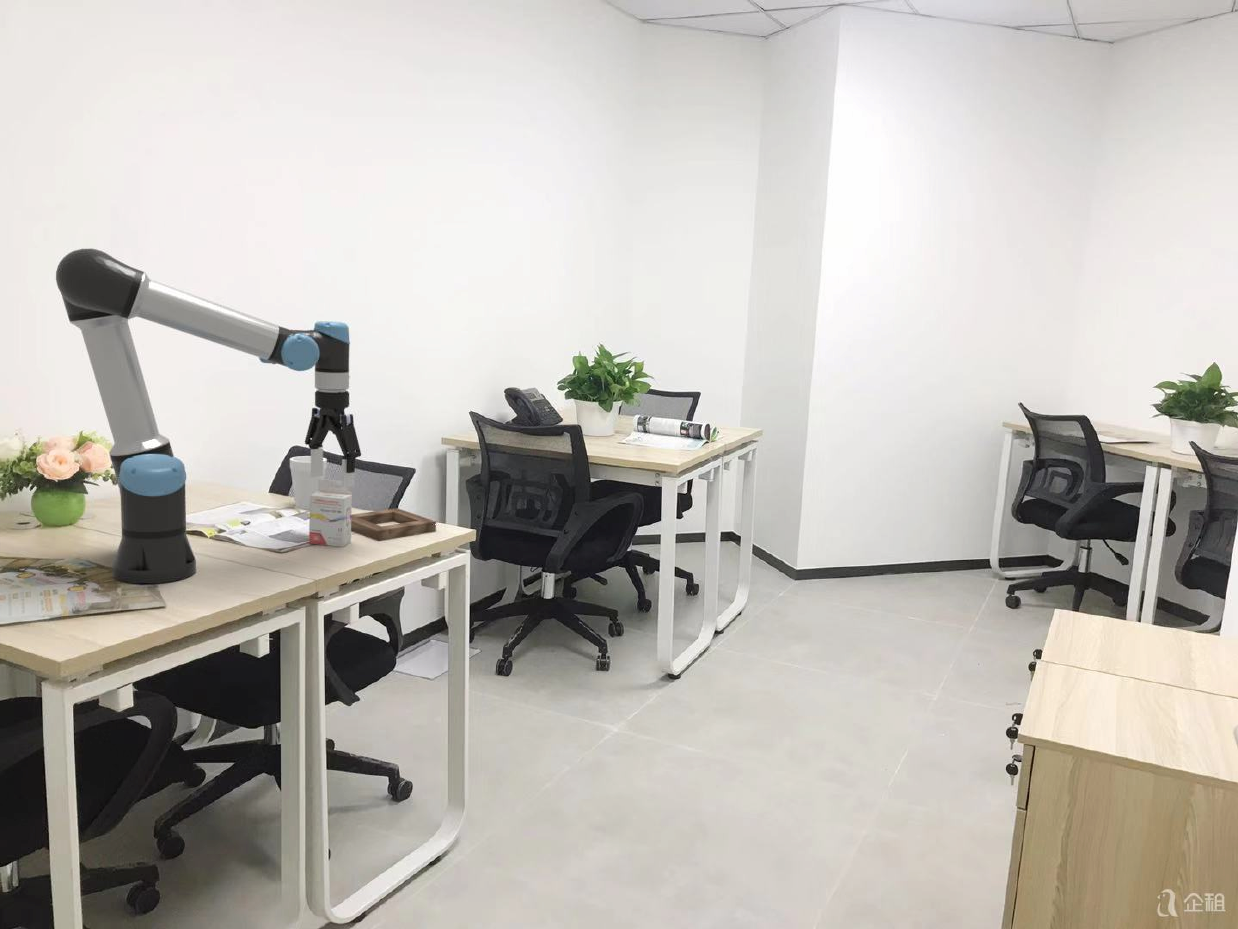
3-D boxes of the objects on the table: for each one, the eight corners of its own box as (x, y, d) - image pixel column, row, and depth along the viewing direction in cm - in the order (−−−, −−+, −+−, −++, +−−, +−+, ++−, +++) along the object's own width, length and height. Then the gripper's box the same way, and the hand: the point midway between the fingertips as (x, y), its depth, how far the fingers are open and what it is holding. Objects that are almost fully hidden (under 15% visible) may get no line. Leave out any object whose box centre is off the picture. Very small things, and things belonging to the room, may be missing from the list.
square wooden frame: (377, 541, 224) (378, 530, 224) (339, 526, 236) (339, 516, 235) (435, 531, 237) (436, 521, 236) (396, 517, 248) (397, 508, 248)
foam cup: (288, 503, 256) (288, 456, 253) (323, 502, 260) (323, 455, 257) (291, 511, 247) (292, 462, 245) (328, 509, 251) (328, 462, 249)
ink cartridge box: (308, 544, 218) (308, 482, 215) (316, 538, 223) (317, 478, 220) (343, 547, 217) (344, 485, 215) (351, 542, 222) (352, 481, 220)
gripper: (377, 395, 208) (376, 488, 212) (318, 383, 225) (318, 470, 229) (347, 397, 203) (347, 492, 207) (289, 384, 219) (290, 473, 223)
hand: (332, 481), depth 218 cm, fingers open, 13 cm apart
